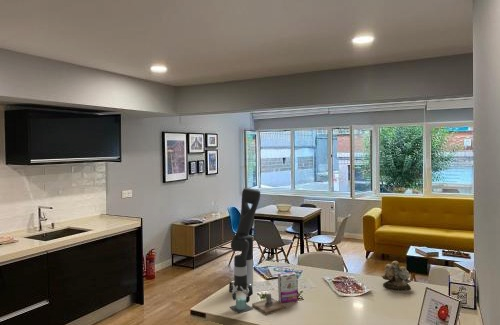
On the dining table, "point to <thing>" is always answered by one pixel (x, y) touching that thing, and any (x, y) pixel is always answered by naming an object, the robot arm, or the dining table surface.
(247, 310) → the mat
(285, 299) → the candy bar box
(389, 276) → the owl figurine
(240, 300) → the cap
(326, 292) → the dining table surface
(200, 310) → the dining table surface
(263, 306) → the post base
